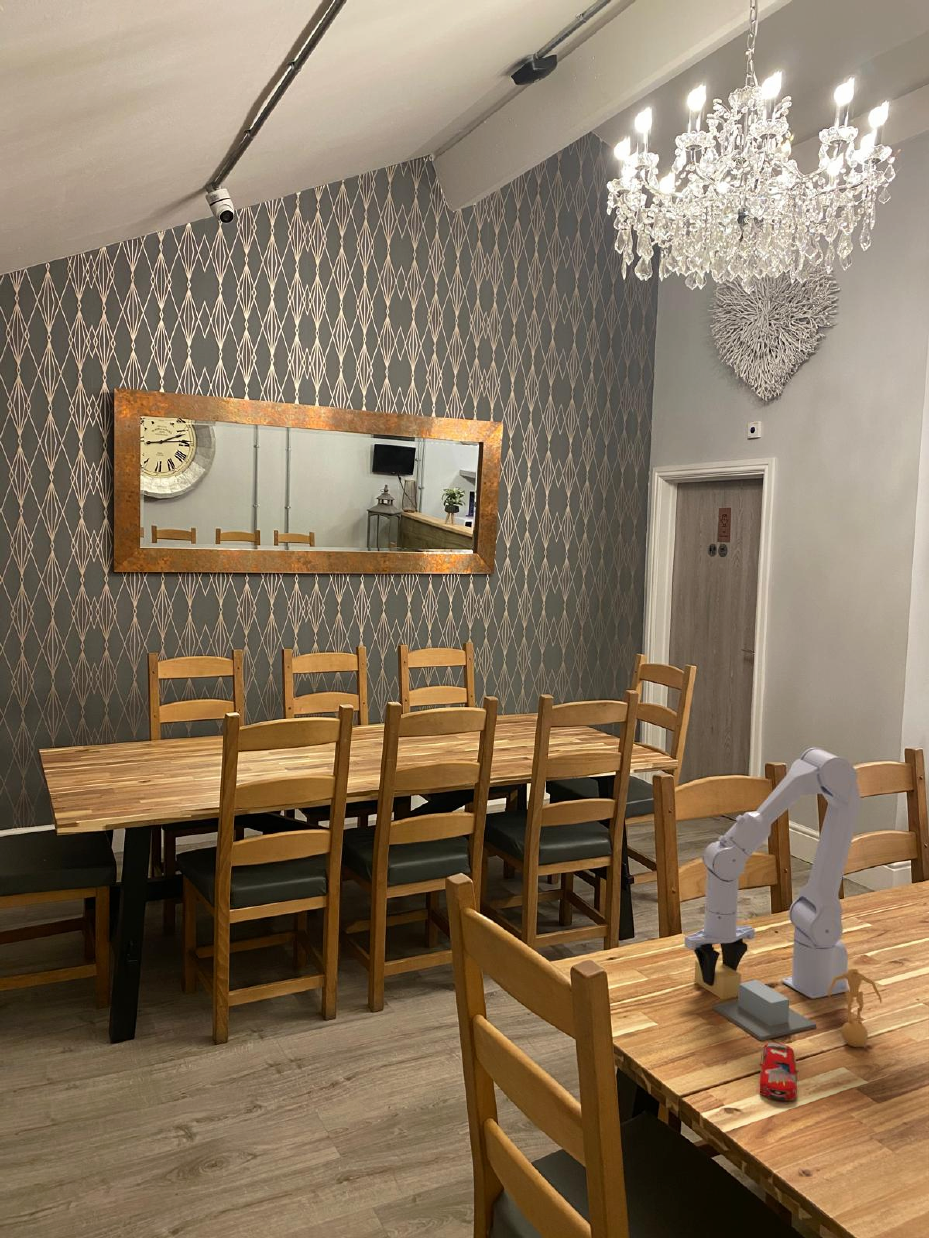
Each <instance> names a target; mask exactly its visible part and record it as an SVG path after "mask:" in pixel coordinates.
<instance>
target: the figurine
mask: <svg viewBox="0 0 929 1238" xmlns="http://www.w3.org/2000/svg"><path fill="white" fill-rule="evenodd" d="M844 978H846V979H847V984H848V987H849V988H850V991H849V990H846V992H845V1001H846V1005H847V1007H846V1009H847V1013H848V1014H847V1015H848V1019H847V1021H846V1022H845V1023H844V1024H842V1028H841V1036H842V1039H843V1040H844V1042H845V1043H846V1044H847V1045H849V1046H851V1047H852V1048H853V1047H854V1048H860V1047H863V1046H864V1045H865V1044H866V1043H867V1041H868V1039H869V1033H868V1030H867V1027H865V1025H864V1024H863V1022H862V1019H861V1018H862V1017H861V1012H862V1011H863V1008H864V997H863V996H864V992H863V991H862V990H861V991H859V989H860V986H861V985H862V981H864V982H866V983H868V984H870V985H871V986H872V988H873V990H874V992H875V993H876V995H877V996H878V1001H879V1003H880V1004H882V996H881V993H880V992H879V990H878V988H877V985H876V983H875V982H874V981H873V980H871V979H870V978H868V977H867V976H865V975H864V974H862V973H860V972H859V970H858V969H856V968H855V969H854V968H851V969H849V970H847V973H844V974H842V975H839V976H836V977H835V978H834V979H833V981H832V984H831V986H830V989H829V991H828V996H829V998H831V994H832V993H831V990H832V989H833V987H834V984H835V982H836V980H840V979H844ZM832 995H833V994H832ZM854 998H856V999H855V1000H856V1003H857V1004H858V1007H857V1015H856V1017H857V1019H856V1020H854V1019H853V1017H852V1004H853V1002H854Z"/></svg>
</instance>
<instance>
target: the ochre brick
mask: <svg viewBox="0 0 929 1238" xmlns="http://www.w3.org/2000/svg"><path fill="white" fill-rule="evenodd" d="M694 982H695V983H696V984H698V985H700V986H701V987H702V988H704V989H706V990H707V991H709V992H710V993H712V994H713V995H715V996H716V997H718V998H720V999H721V1000H722V999H724V1000H728V998H729V999H732V998H731V997H733V998H736V997H735V996H738V992H739V983H742V973H739V972H738V971H737V970H736V971H735V970H733V969H731V968H730V967H728V966H726V965H725V964H723V963H722V962H721V961H719V959H718V960H717V963H716V967H715V978H714V983H713V985H712V986H709V985H708V984H706V983H705V982H703V977H702V972H701V968H700V964H699V961H698V959H696V960H695V961H694Z"/></svg>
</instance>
